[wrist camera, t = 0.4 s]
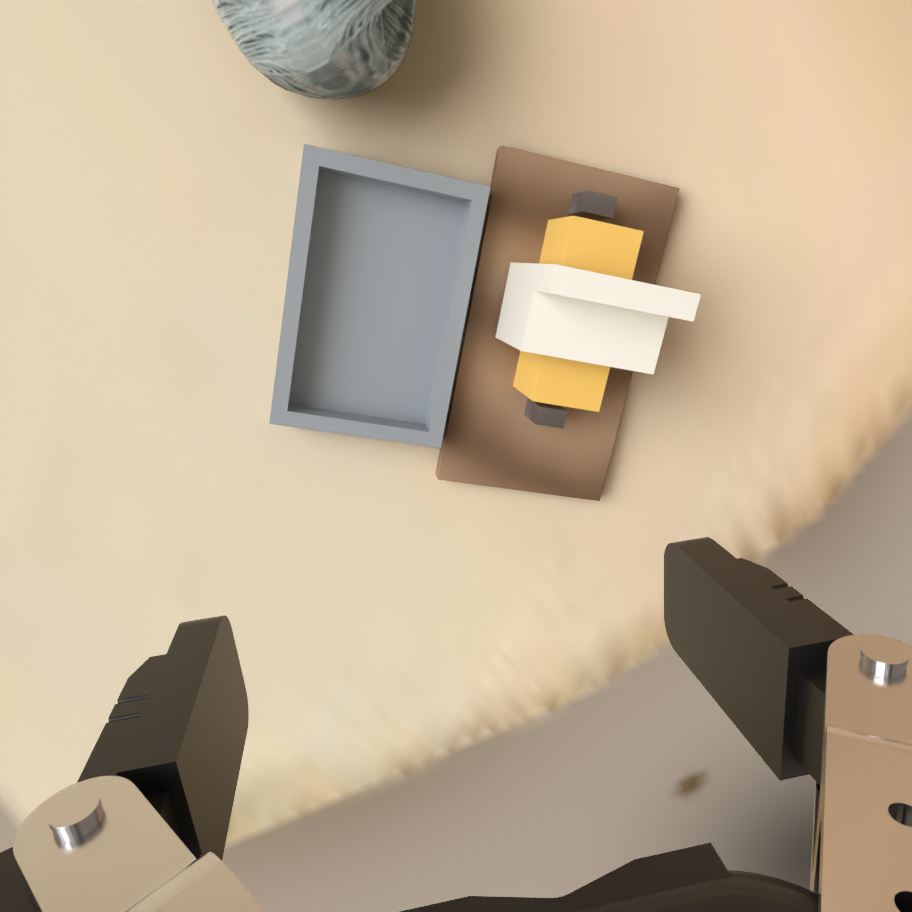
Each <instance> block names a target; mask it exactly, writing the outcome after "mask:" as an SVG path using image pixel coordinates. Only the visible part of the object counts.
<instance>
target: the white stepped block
mask: <svg viewBox="0 0 912 912" xmlns="http://www.w3.org/2000/svg"><path fill="white" fill-rule="evenodd" d="M700 296H701V294H697V293H692V292H687V291H682V290H678V289H673V288H668V287H663V286H658V285H653V284H649V283H644V282H639V281H634V280H629V279H624V278H620V277H615V276H610V275H605V274H600V273H596V272H591V271H586V270H581V269H576V268H571V267H567V266H562V265H557V264H538V263H513V262H510V267H509V272H508V277H507V282H506V287H505V292H504V297H503V302H502V307H501V312H500V317H499V322H498V326H497V331H496V336H495V337H496V338H497V339H499V340H501V341H503V342H505V343H507V344H509V345H511V346H513V347H514V348H516V349H518V350H520V351H524V352H529V353H535V354H541V355H546V356H552V357H558V358H563V359H569V360H575V361H580V362H586V363H591V364H597V365H603V366H608V367H614V368H620V369H625V370H631V371H636V372H642V373H648V374H653V375H654V371H655V367H656V364H657V360H658V356H659V352H660V348H661V345H662V341H663V337H664V333H665V330H666V326H667V322H668V318H669V317H671V318H677V319H682V320H687V321H693V322H694V318H695V314H696V311H697V307H698V304H699V300H700Z"/></svg>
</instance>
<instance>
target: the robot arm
mask: <svg viewBox="0 0 912 912" xmlns="http://www.w3.org/2000/svg"><path fill="white" fill-rule="evenodd" d="M664 620H665V627H666V631H667V635H668V638H669V640H670V643H671V645H672V647H673V648H674V650H675V651H676V653H677V654H678V655H679V656H680V658H681V659H682V660H683V661H684V663H685V664H686V665H687V666H688V667H689V669H690V670H691V671H692V672H693V674H694V675H695V676H696V677H697V679H698V680H699V681H700V682H701V683H702V685H703V686H704V687H705V688H706V690H707V691H708V692H709V693H710V695H711V696H712V697H713V698H714V699H715V701H716V702H717V703H718V704H719V706H720V707H721V708H722V709H723V711H724V712H725V713H726V714H727V715H728V717H729V718H730V719H731V721H732V722H733V723H734V724H735V725H736V727H737V728H738V729H739V730H740V732H741V733H742V734H743V735H744V737H745V738H746V739H747V740H748V742H749V743H750V744H751V745H752V746H753V748H754V749H755V750H756V751H757V753H758V754H759V755H760V756H761V758H762V759H763V760H764V761H765V762H766V764H767V765H768V766H769V767H770V769H771V770H772V771H773V772H774V773H775V775H776V776H777V777H778V779H779V780H784V779H789V778H794V777H798V776H803V775H808V774H810V775H811V776H812V777H813V778H814V779H815V781H816V790H815V802H814V803H815V804H814V822H813V823H814V824H813V842H812V863H811V883H810V890H808V889H806V888H803V887H801V886H798V885H796V884H792V883H790V882H787V881H784V880H781V879H778V878H774V877H770V876H766V875H761V874H757V873H750V872H743V871H733V870H731V871H730V870H727V869H726V867H725V866H724V864H723V862H722V860H721V859H720V857H719V856H718V854H717V853H716V851H715V849H714V848H713V846H712V844H711V843H707V844H703V845H698V846H694V847H689V848H685V849H681V850H676V851H671V852H667V853H662V854H658V855H653V856H649V857H644V858H640V859H635V860H633V861H631V862H629V863H627V864H625V865H623V866H622V867H620V868H618V869H616V870H614V871H612V872H610V873H608V874H606V875H604V876H602V877H601V878H599V879H597V880H595V881H593V882H591V883H589V884H587V885H585V886H583V887H581V888H579V889H577V890H575V891H574V892H572V893H570V894H568V895H565V896H563V897H558V898H522V897H481V896H480V897H479V896H468V897H464V898H459V899H455V900H450V901H446V902H442V903H437V904H432V905H428V906H424V907H419V908H414V909H410V910H405V911H401V912H912V645H910V644H908V643H905V642H902V641H900V640H896V639H893V638H889V637H884V636H877V635H864V634H861V635H854V634H852V633H851V632H849V631H848V630H847V629H846V628H844V627H843V626H842V625H841V624H839V623H838V622H837V621H835V620H834V619H833V618H831V617H830V616H829V615H828V614H826V613H825V612H824V611H822V610H821V609H820V608H818V607H817V606H816V605H815V604H813V603H812V602H811V601H809V600H808V599H804V598H803V595H802V594H800V593H799V592H798V591H796V590H795V589H794V588H793V587H788V585H787V583H786V582H785V581H783V580H782V579H781V578H780V577H778V576H777V575H776V574H774V573H773V572H772V571H770V570H769V569H767V568H765V567H763V566H760V565H758V564H755V563H753V562H750V561H748V560H745V559H743V558H739V559H736V558H735V557H734V556H733V555H731V554H730V553H729V552H728V551H726V550H725V549H724V548H723V547H721V546H720V545H719V544H718V543H716V542H715V541H714V540H713V539H711V538H709V537H705V538H699V539H693V540H687V541H681V542H675V543H670V544H668V545H667V547H666V549H665V554H664ZM247 729H248V700H247V693H246V688H245V684H244V679H243V675H242V671H241V667H240V662H239V658H238V654H237V649H236V645H235V641H234V636H233V632H232V628H231V624H230V622H229V619H228V618H227V617H226V616H219V617H213V618H207V619H201V620H194V621H188V622H182V623H181V624H180V625H179V626H178V629H177V631H176V633H175V636H174V638H173V640H172V643H171V645H170V647H169V650H168V652H167V654H166V655H160V656H154V657H150V658H149V659H148V660H147V661H146V662H145V663H144V664H143V665H141V666H140V667H139V668H138V669H137V670H136V671H135V672H134V673H133V674H132V675H131V676H130V677H129V678H128V680H127V682H126V684H125V686H124V688H123V690H122V692H121V694H120V696H119V698H118V704H115V706H114V708H113V710H112V712H111V714H110V716H109V723H106V725H105V727H104V729H103V731H102V733H101V735H100V737H99V739H98V741H97V743H96V745H95V747H94V749H93V751H92V753H91V755H90V757H89V759H88V761H87V763H86V765H85V767H84V770H83V772H82V774H81V776H80V778H79V780H78V782H77V783H76V784H73V785H71V786H69V787H67V788H65V789H63V790H61V791H59V792H58V793H56V794H55V795H53V796H51V797H50V798H49V799H47V800H46V801H45V802H43V803H42V804H41V805H39V806H38V807H37V808H36V809H35V810H34V811H33V812H32V813H31V814H30V815H29V816H28V817H27V818H26V820H25V821H24V822H23V824H22V825H21V827H20V828H19V830H18V832H17V834H16V836H15V839H14V843H13V847H12V848H10V849H7V850H5V851H3V852H1V853H0V912H266V911H265V910H264V909H263V908H262V906H261V905H260V904H259V903H258V902H257V901H256V900H255V898H254V897H253V896H252V895H251V894H250V893H249V892H248V890H247V889H246V888H245V887H244V886H243V885H242V884H241V882H240V881H239V880H238V879H237V878H236V877H235V876H234V874H232V872H231V871H230V870H229V869H228V868H227V866H225V864H224V863H223V862H222V857H223V852H224V847H225V842H226V837H227V832H228V827H229V822H230V816H231V811H232V806H233V801H234V796H235V791H236V786H237V780H238V775H239V770H240V765H241V760H242V755H243V750H244V744H245V739H246V734H247Z"/></svg>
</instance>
